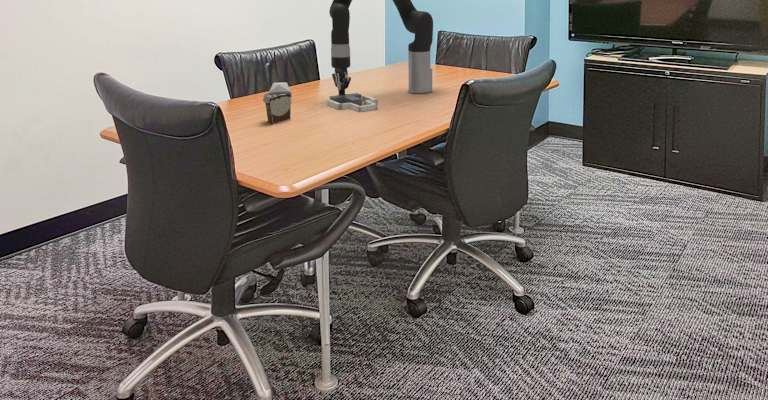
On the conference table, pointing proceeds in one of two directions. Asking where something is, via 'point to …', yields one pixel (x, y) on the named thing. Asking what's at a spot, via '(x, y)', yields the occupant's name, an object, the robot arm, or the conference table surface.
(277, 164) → the conference table surface
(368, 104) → the t dock
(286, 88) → the grey rounded block
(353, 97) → the t block
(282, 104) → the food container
